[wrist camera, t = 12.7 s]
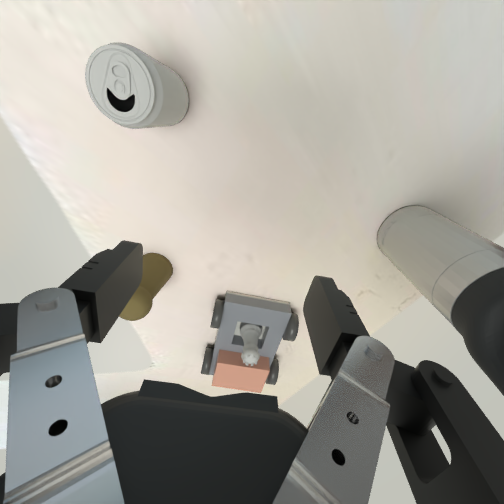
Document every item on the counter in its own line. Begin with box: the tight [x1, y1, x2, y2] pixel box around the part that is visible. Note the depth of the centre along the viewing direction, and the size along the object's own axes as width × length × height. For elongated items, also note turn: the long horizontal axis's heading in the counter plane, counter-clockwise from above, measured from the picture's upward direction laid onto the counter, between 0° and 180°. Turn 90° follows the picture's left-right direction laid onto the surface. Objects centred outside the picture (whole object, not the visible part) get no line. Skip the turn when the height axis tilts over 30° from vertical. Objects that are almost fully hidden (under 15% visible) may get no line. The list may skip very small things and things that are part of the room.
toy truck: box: [201, 291, 299, 393], centre depth 48 cm, size 15×20×6 cm
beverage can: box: [85, 43, 189, 129], centre depth 26 cm, size 6×6×12 cm
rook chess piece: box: [240, 322, 262, 366], centre depth 45 cm, size 4×4×8 cm
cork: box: [119, 253, 173, 321], centre depth 39 cm, size 6×6×11 cm
